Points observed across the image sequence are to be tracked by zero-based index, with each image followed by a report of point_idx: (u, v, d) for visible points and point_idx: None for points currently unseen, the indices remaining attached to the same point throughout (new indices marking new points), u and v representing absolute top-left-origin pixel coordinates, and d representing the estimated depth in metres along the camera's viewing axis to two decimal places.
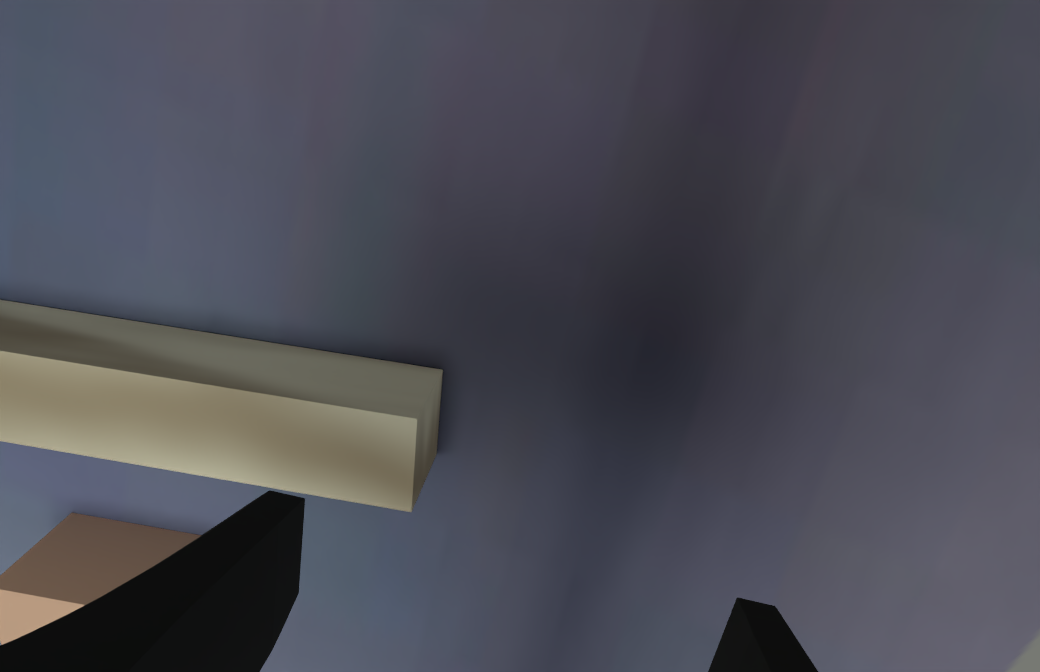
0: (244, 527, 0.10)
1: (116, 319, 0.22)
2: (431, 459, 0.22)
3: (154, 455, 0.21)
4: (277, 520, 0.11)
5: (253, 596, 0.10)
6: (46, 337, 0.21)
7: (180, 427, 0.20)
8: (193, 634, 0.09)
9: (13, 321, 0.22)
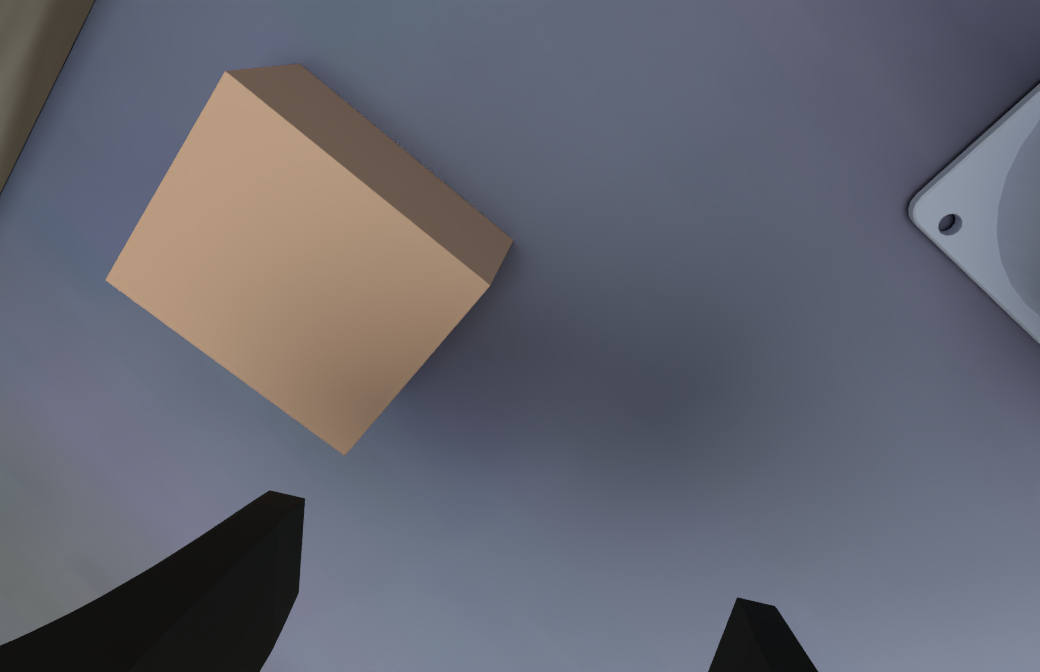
0: (244, 527, 0.10)
1: None
2: None
3: None
4: (277, 520, 0.11)
5: (253, 596, 0.10)
6: None
7: None
8: (193, 634, 0.09)
9: None
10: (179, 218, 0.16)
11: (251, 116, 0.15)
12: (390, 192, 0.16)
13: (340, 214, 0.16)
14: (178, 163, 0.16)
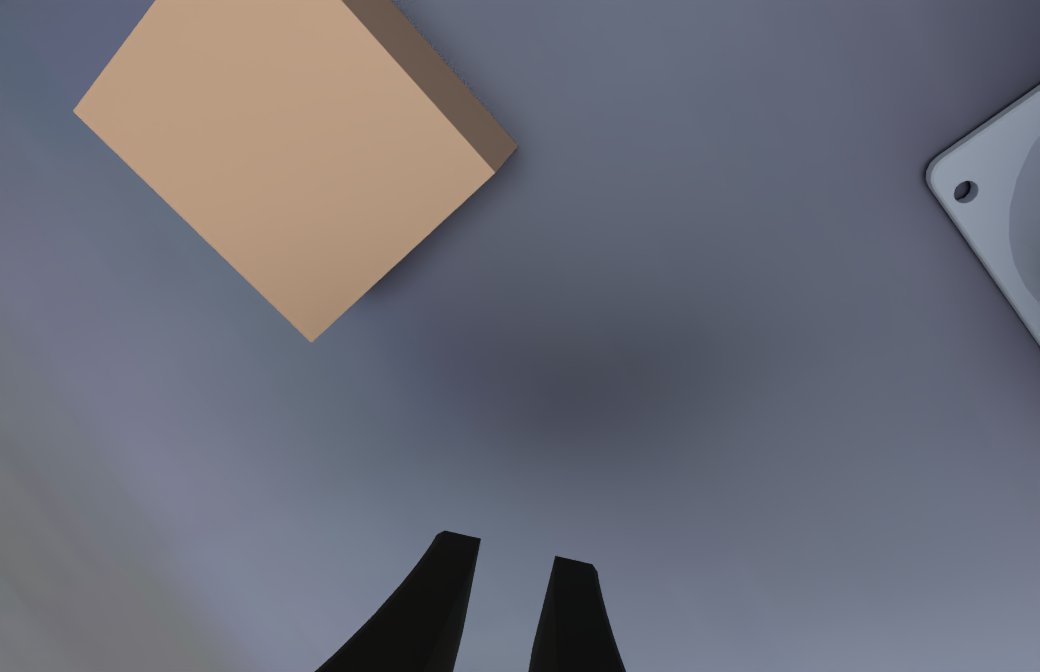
0: (441, 573, 0.10)
1: None
2: None
3: None
4: (468, 564, 0.11)
5: (450, 642, 0.10)
6: None
7: None
8: None
9: None
10: (166, 51, 0.15)
11: None
12: (401, 56, 0.15)
13: (345, 70, 0.15)
14: None
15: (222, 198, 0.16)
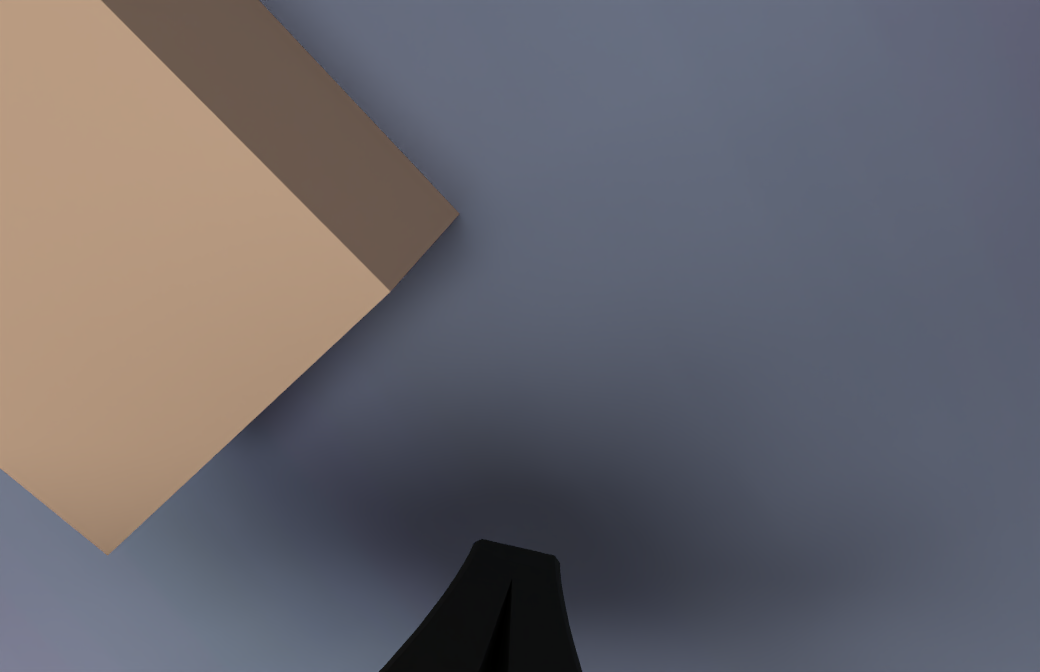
0: (483, 582, 0.10)
1: None
2: None
3: None
4: (509, 573, 0.11)
5: (492, 652, 0.10)
6: None
7: None
8: None
9: None
10: None
11: None
12: (215, 81, 0.08)
13: (99, 107, 0.08)
14: None
15: None
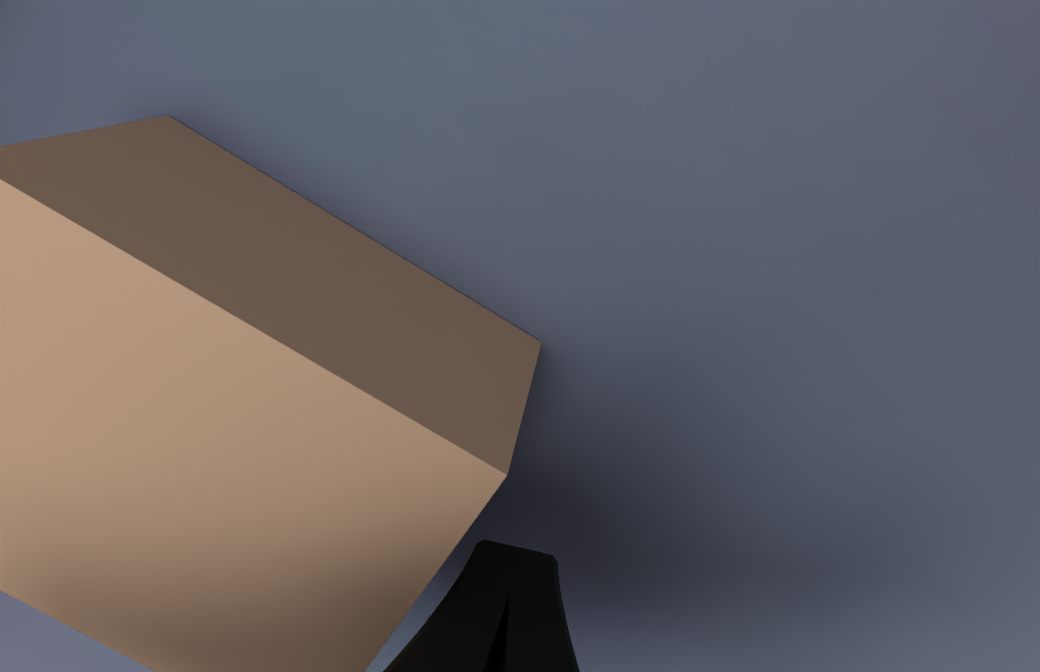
0: (486, 583, 0.10)
1: None
2: None
3: None
4: (511, 574, 0.11)
5: (494, 653, 0.10)
6: None
7: None
8: None
9: None
10: None
11: (24, 230, 0.08)
12: (305, 325, 0.09)
13: (217, 380, 0.09)
14: None
15: (111, 591, 0.10)
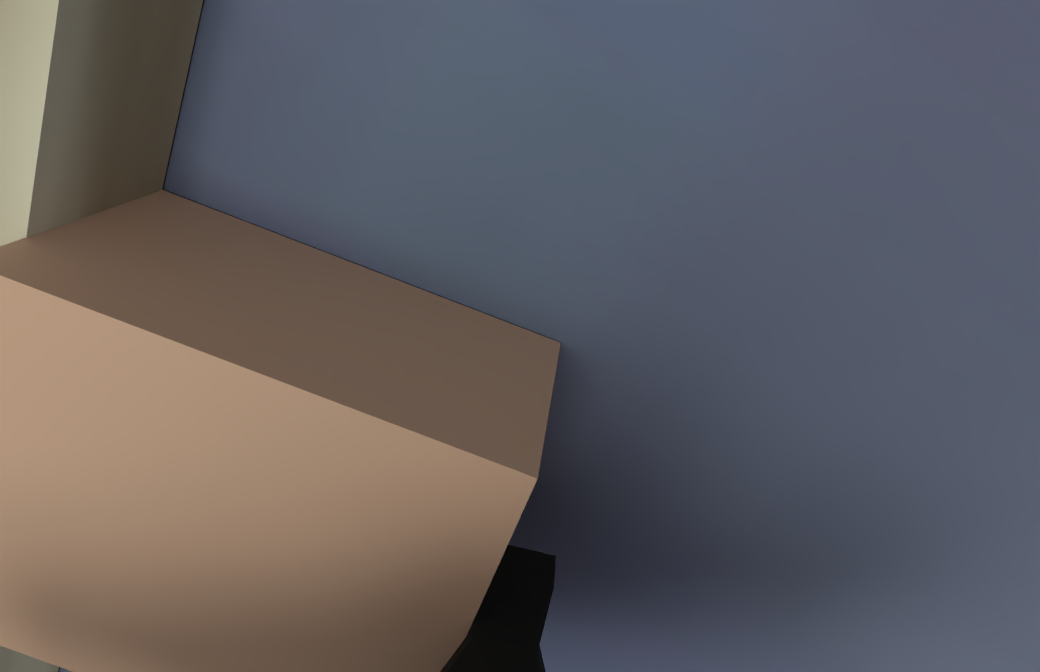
0: (525, 592, 0.10)
1: None
2: None
3: None
4: (550, 583, 0.11)
5: None
6: None
7: None
8: None
9: None
10: (4, 511, 0.10)
11: (33, 321, 0.08)
12: (316, 363, 0.09)
13: (239, 433, 0.09)
14: None
15: (179, 658, 0.10)
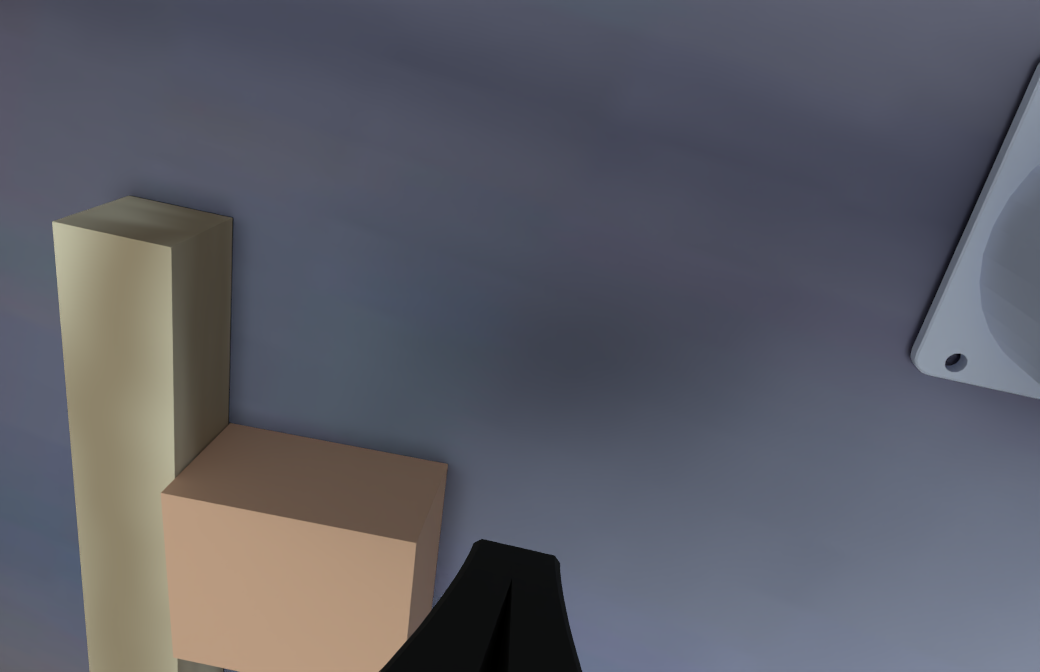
0: (483, 582, 0.10)
1: None
2: (209, 222, 0.19)
3: (160, 497, 0.20)
4: (508, 573, 0.11)
5: (491, 652, 0.10)
6: None
7: (122, 463, 0.20)
8: None
9: None
10: (192, 596, 0.21)
11: (193, 512, 0.19)
12: (315, 507, 0.20)
13: (287, 545, 0.20)
14: (169, 562, 0.20)
15: (283, 654, 0.21)
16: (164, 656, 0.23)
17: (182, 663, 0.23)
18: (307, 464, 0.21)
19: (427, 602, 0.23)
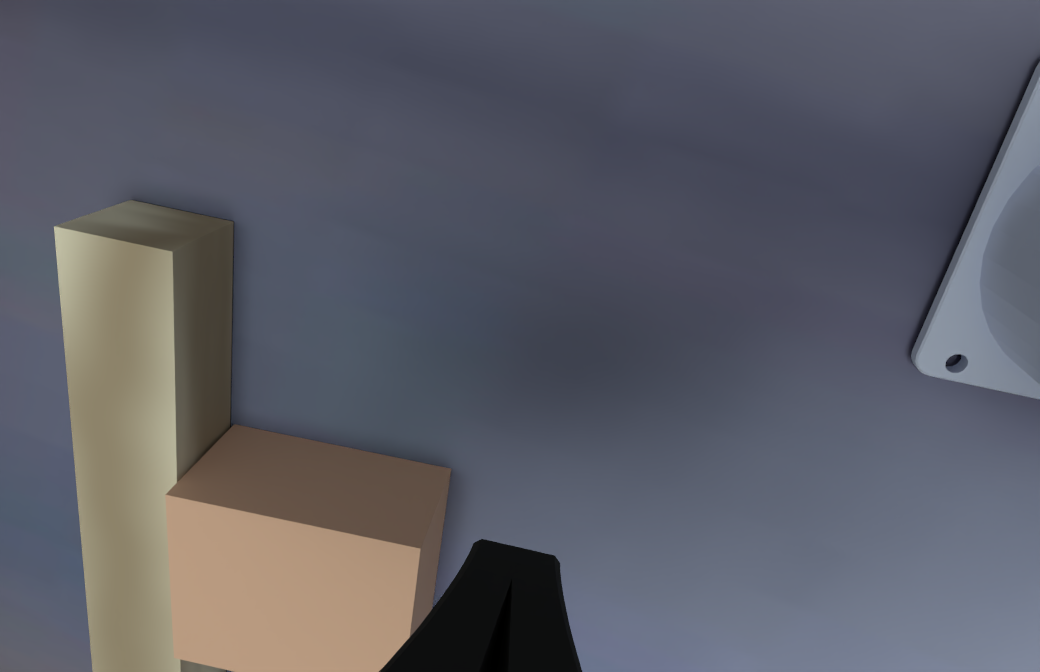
0: (483, 582, 0.10)
1: None
2: (210, 226, 0.20)
3: (163, 500, 0.20)
4: (509, 573, 0.11)
5: (492, 652, 0.10)
6: None
7: (125, 466, 0.20)
8: None
9: None
10: (194, 598, 0.21)
11: (198, 514, 0.20)
12: (319, 511, 0.20)
13: (291, 548, 0.20)
14: (172, 564, 0.20)
15: (284, 656, 0.21)
16: (167, 659, 0.23)
17: (185, 666, 0.23)
18: (311, 467, 0.21)
19: (428, 606, 0.23)
